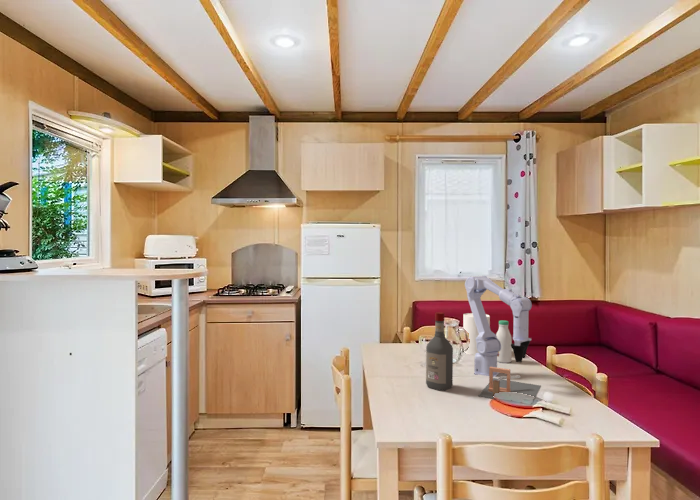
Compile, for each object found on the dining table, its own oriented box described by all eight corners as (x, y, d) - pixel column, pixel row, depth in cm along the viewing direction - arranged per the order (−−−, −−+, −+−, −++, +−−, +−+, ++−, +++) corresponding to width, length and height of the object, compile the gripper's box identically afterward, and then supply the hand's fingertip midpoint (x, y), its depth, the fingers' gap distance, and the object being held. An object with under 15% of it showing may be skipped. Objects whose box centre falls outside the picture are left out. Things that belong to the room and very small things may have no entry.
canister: (458, 352, 234) (458, 315, 234) (471, 348, 243) (472, 312, 243) (480, 357, 224) (481, 318, 224) (494, 352, 233) (494, 315, 233)
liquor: (443, 392, 171) (443, 315, 171) (423, 386, 177) (423, 312, 177) (454, 386, 178) (455, 312, 177) (435, 381, 184) (435, 310, 184)
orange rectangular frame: (508, 394, 167) (509, 371, 167) (488, 391, 171) (488, 368, 171) (510, 391, 171) (511, 368, 170) (490, 388, 175) (491, 365, 174)
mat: (478, 396, 166) (478, 395, 166) (493, 378, 188) (493, 378, 188) (531, 406, 157) (531, 404, 157) (541, 386, 178) (541, 385, 178)
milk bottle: (513, 360, 218) (513, 320, 218) (509, 364, 211) (510, 322, 211) (497, 358, 222) (497, 319, 222) (493, 361, 215) (493, 321, 215)
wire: (492, 396, 166) (493, 381, 166) (501, 384, 179) (501, 371, 179) (512, 399, 162) (513, 384, 162) (520, 387, 175) (520, 373, 175)
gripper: (528, 331, 171) (527, 365, 172) (534, 325, 184) (533, 357, 184) (509, 329, 175) (509, 362, 175) (516, 323, 187) (516, 355, 188)
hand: (520, 359), depth 180 cm, fingers open, 7 cm apart
